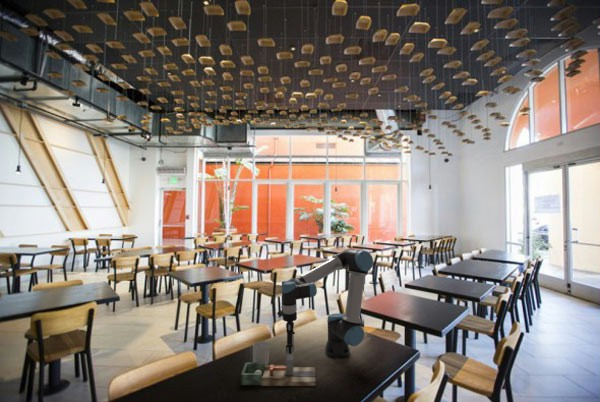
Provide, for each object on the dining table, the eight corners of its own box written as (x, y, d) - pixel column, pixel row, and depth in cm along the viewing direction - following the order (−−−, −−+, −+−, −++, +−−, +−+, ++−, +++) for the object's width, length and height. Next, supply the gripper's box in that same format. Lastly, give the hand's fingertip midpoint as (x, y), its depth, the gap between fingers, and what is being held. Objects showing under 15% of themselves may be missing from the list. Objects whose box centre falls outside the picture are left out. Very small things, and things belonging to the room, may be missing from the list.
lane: (314, 371, 158) (314, 361, 159) (315, 385, 144) (315, 375, 145) (246, 371, 159) (246, 361, 159) (240, 385, 145) (240, 375, 145)
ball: (253, 371, 154) (258, 377, 154) (252, 375, 150) (257, 381, 150) (259, 366, 154) (264, 372, 154) (257, 370, 150) (263, 376, 150)
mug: (269, 367, 163) (269, 347, 164) (253, 369, 161) (253, 348, 161) (266, 357, 174) (266, 338, 175) (251, 359, 172) (252, 340, 173)
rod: (293, 370, 154) (293, 344, 155) (293, 375, 149) (293, 348, 150) (270, 370, 154) (270, 344, 155) (269, 375, 149) (269, 348, 150)
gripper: (284, 305, 166) (285, 342, 165) (280, 320, 141) (282, 365, 140) (297, 304, 166) (298, 342, 165) (295, 320, 141) (297, 365, 140)
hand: (291, 353), depth 153 cm, fingers open, 13 cm apart
